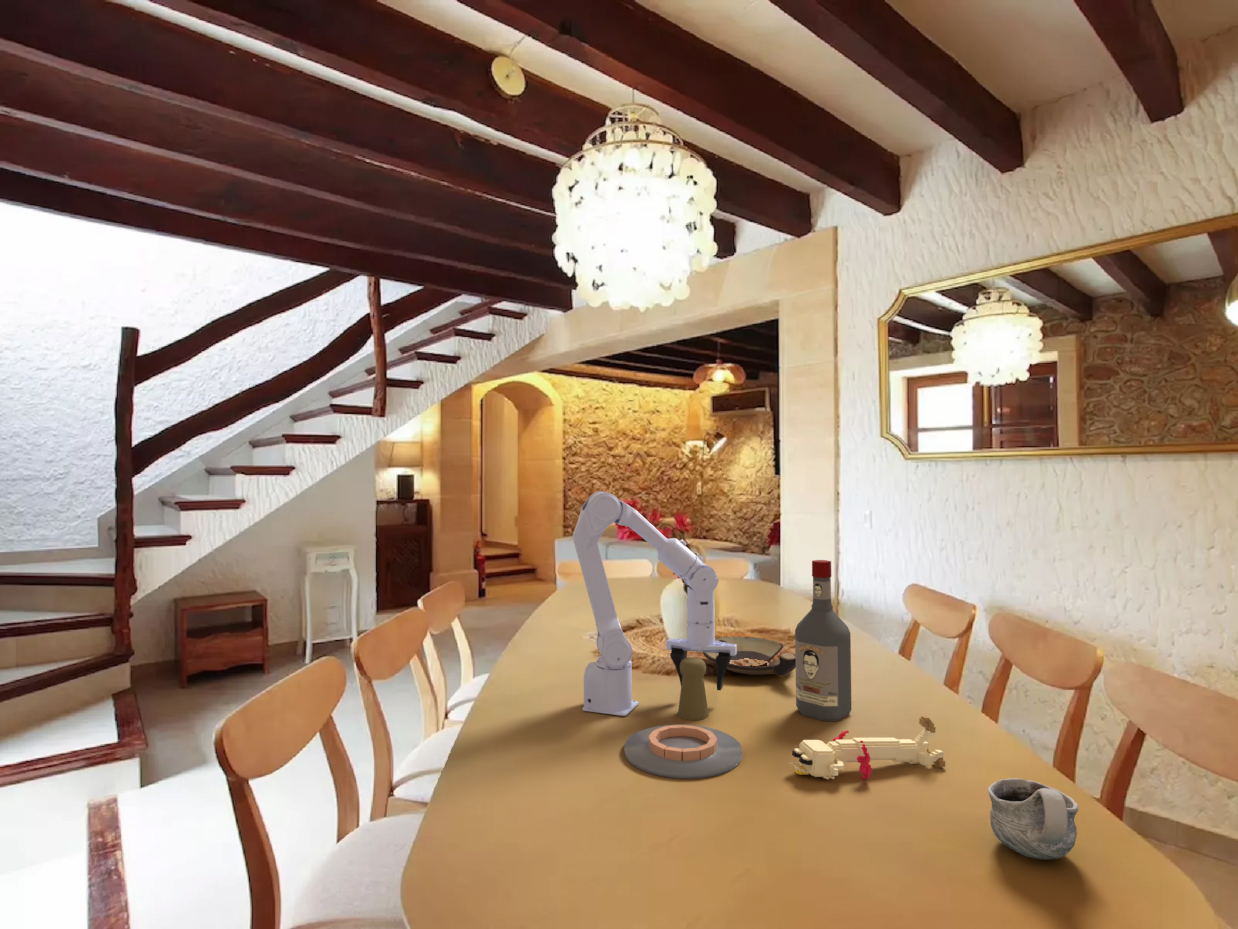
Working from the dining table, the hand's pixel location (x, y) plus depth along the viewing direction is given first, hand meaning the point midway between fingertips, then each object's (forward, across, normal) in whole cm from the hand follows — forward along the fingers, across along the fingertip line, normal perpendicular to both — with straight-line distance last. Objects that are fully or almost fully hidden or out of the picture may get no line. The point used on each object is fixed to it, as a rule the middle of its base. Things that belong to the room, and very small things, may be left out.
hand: (701, 686), depth 140 cm
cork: (+4, 0, -7) cm, 8 cm away
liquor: (+4, +24, +3) cm, 25 cm away
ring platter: (+3, +3, -25) cm, 25 cm away
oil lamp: (+4, +6, +25) cm, 26 cm away
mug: (+4, +53, -40) cm, 66 cm away
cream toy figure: (+4, +32, -21) cm, 39 cm away
